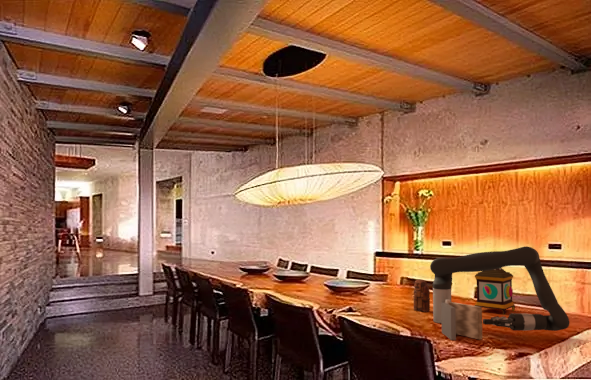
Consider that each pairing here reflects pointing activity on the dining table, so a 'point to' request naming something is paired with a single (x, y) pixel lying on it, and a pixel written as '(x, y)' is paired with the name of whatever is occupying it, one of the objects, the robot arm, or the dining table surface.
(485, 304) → the decorative lantern
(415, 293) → the wooden figurine
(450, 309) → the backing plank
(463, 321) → the ash plank
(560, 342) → the dining table surface
